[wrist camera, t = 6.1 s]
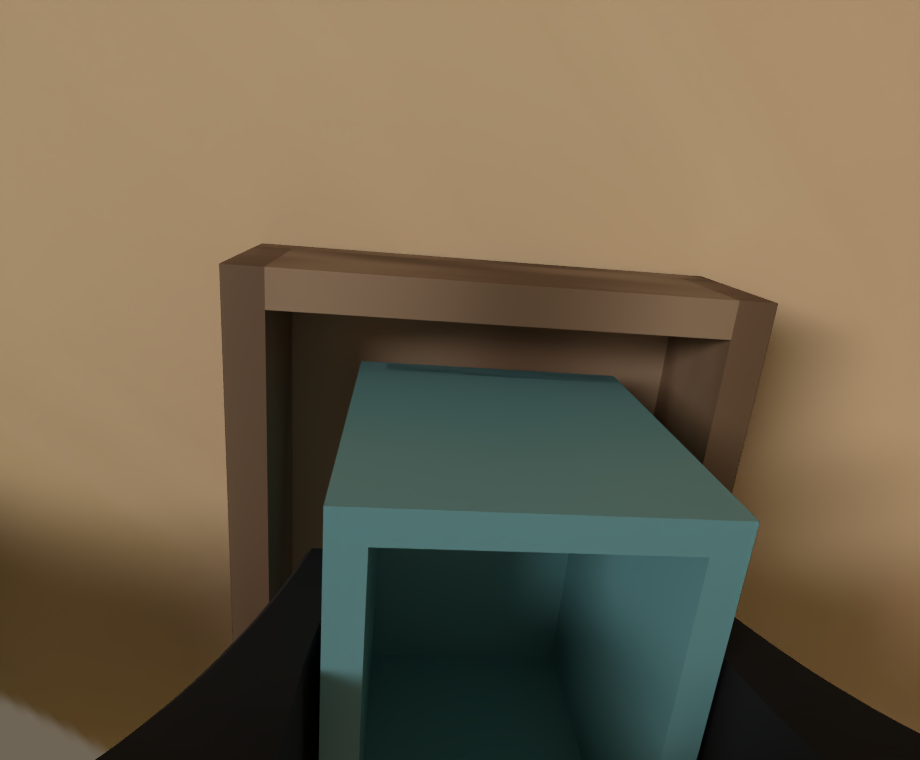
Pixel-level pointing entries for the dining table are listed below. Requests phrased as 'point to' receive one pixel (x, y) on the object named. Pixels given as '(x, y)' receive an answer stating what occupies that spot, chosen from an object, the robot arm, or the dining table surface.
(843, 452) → the dining table surface
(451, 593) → the teal crate
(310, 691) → the robot arm
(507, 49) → the dining table surface
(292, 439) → the walnut crate
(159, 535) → the dining table surface
